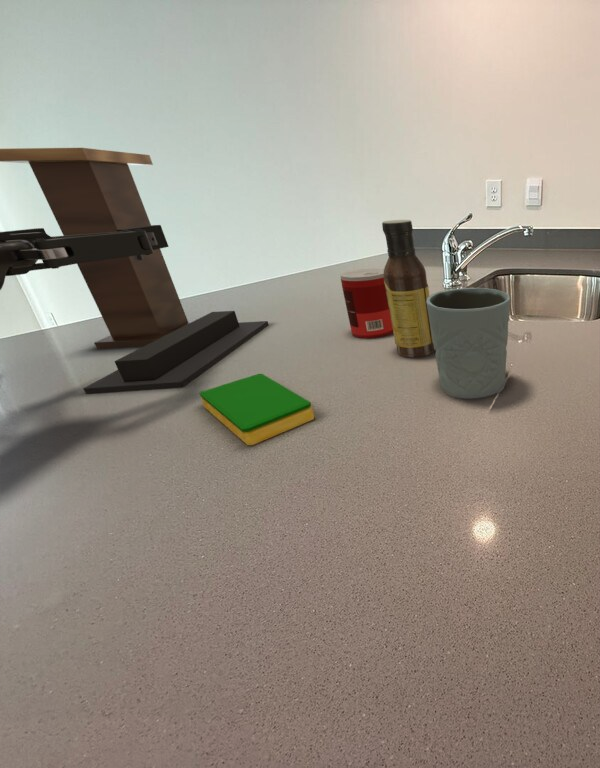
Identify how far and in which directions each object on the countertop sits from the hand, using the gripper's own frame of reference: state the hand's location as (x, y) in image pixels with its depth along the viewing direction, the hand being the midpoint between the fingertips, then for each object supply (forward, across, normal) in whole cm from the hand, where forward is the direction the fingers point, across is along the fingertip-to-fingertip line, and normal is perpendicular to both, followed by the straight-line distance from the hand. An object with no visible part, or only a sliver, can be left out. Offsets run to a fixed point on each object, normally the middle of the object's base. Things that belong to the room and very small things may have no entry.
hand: (104, 237), depth 52 cm
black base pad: (+7, +1, -19) cm, 20 cm away
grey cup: (-13, +46, -19) cm, 51 cm away
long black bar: (+6, +1, -18) cm, 19 cm away
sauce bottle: (+1, +37, -19) cm, 42 cm away
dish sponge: (-16, +20, -19) cm, 32 cm away
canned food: (+13, +29, -19) cm, 37 cm away
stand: (+18, -12, -19) cm, 29 cm away
